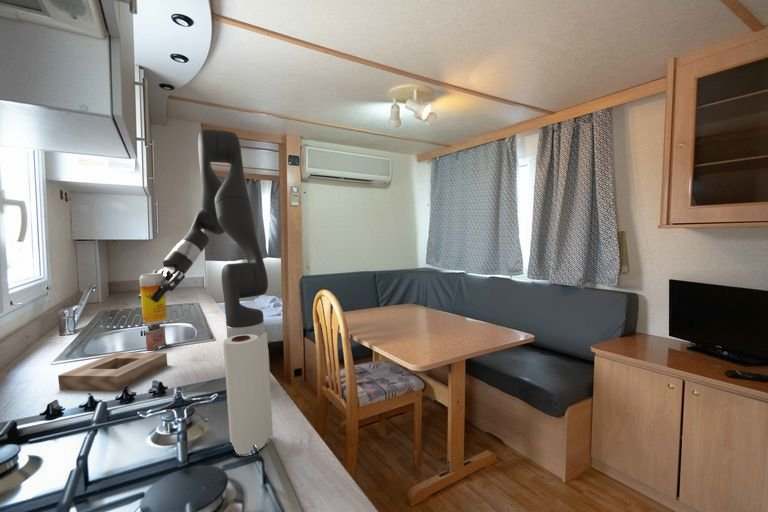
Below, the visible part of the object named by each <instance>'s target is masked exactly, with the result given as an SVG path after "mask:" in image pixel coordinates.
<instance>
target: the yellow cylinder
mask: <svg viewBox="0 0 768 512" xmlns="http://www.w3.org/2000/svg"><path fill="white" fill-rule="evenodd" d="M162 279H163V275H162V273H152V272H148V273H142V274H140V276H139V280H138V281H139V290H140V294H141V299H140V301H141V313H142V321H143V323H144V324H145V325H147V326H148V325H152V324H159V323H165V322H166V320H167V319H168V314H167V302H166V293H165V294H164V295H163V296H162V298H161V299H160V300H159V301H158V302H154V301H153V300H151V297H152V296H153V294H154V293H155V292H156V291H157V290H158V288H160V285H161V284H162Z"/></svg>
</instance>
